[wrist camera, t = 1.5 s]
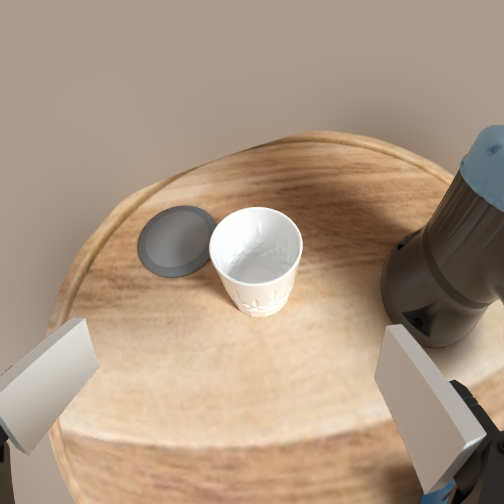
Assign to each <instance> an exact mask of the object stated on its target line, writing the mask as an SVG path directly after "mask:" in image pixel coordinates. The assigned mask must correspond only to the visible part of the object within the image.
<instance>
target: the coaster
mask: <svg viewBox="0 0 504 504" xmlns="http://www.w3.org/2000/svg"><path fill="white" fill-rule="evenodd" d="M215 228H216V224H215V222H214V220H213V218H212V217H211V216H210V215H209V214H208V213H207V212H206V211H204V210H202V209H200V208H198V207H194V206H177V207H172V208H169V209H167V210H165V211H163V212H161V213H159V214H158V215H156V216H155V217H154V218H153V219H151V220H150V221H149V222H148V224H147V225H146V226H145V228H144V229H143V231H142V233H141V236H140V239H139V243H138V251H139V256H140V258H141V261H142V262H143V264H144V265H145V266H146V267H147V269H148V270H150V271H151V272H152V273H154V274H156V275H158V276H161V277H166V278H177V277H182V276H186V275H188V274H191V273H193V272H195V271H196V270H198V269H199V268H201V267H202V266H203V265H204V264H205V263H207V261H208V260H209V259H210V258H211V257H210V252H209V244H210V239H211V236H212V233H213V231H214V230H215Z"/></svg>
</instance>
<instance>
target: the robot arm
mask: <svg viewBox="0 0 504 504" xmlns="http://www.w3.org/2000/svg"><path fill="white" fill-rule="evenodd" d="M381 292H382V298H383V302H384V305H385V308H386V310H387V312H388V314H389V316H390V318H391V320H392V321H393V323H394V324H395V325H387V326H386V328H385V333H384V338H383V343H382V347H381V352H380V356H379V360H378V364H377V368H376V372H375V376H374V379H375V381H376V383H377V385H378V387H379V389H380V392H381V394H382V396H383V398H384V400H385V402H386V404H387V406H388V409H389V411H390V413H391V415H392V417H393V420H394V422H395V424H396V426H397V428H398V431H399V433H400V435H401V438H402V440H403V442H404V444H405V447H406V449H407V452H408V454H409V456H410V459H411V461H412V464H413V466H414V468H415V471H416V473H417V476H418V478H419V481H420V483H421V486H422V489H423V491H424V494H425V495H426V494H429V493H431V492H434V491H437V490H439V489H441V488H444V487H445V486H446V485H447V484H448V483H449V482H450V481H451V479H452V478H454V480H455V483H456V484H455V485H454V486H453V487H452V488H451V489H450V491H449V492H448V493H447V494H446V495H445V496H444V497H443V499H442V500H441V501H445V500H446V499H447V498H448V497H449V499H448V501H447V504H504V431H501V432H500V431H499V430H498V428H497V427H496V426H495V424H494V423H493V422H492V420H491V419H490V417H489V416H488V415H487V413H486V412H485V411H484V409H483V408H482V407H481V406H480V405H478V402H477V400H476V399H475V398H473V395H472V394H471V393H470V391H469V390H468V389H467V388H466V387H465V386H464V385H462V384H461V383H459V382H458V381H456V380H453V381H448V380H447V379H446V377H445V376H444V375H443V373H442V372H441V371H440V370H439V368H438V367H437V366H436V365H435V363H434V362H433V361H432V360H431V358H430V357H429V356H428V355H427V353H426V352H425V351H424V350H423V349H422V347H421V346H420V345H422V346H425V347H429V348H442V347H446V346H449V345H451V344H453V343H455V342H457V341H459V340H461V339H462V338H464V337H465V336H466V335H468V334H469V333H470V332H471V331H472V329H473V328H474V327H475V325H476V324H477V322H478V321H479V320H480V318H481V317H482V315H483V314H484V312H485V311H486V309H487V308H488V306H489V305H490V304H492V303H493V302H494V301H496V300H498V299H500V300H501V301H502V303H503V304H504V125H492V126H489V127H487V128H485V129H483V130H482V131H481V132H480V134H479V135H478V137H477V139H476V140H475V142H474V144H473V145H472V147H471V149H470V150H469V152H468V154H467V155H466V156H464V157H463V159H462V160H461V163H460V169H459V171H458V173H457V174H456V176H455V178H454V180H453V182H452V183H451V185H450V187H449V189H448V190H447V192H446V194H445V196H444V197H443V199H442V201H441V202H440V204H439V206H438V207H437V209H436V210H435V212H434V214H433V215H432V217H431V218H430V220H429V222H428V223H427V224H426V225H424V226H423V227H421V228H419V229H418V230H416V231H414V232H413V233H411V234H409V235H408V236H406V237H405V238H403V239H402V240H401V241H400V242H399V243H398V244H397V245H396V246H395V247H394V249H393V250H392V252H391V253H390V255H389V256H388V258H387V260H386V262H385V264H384V267H383V270H382V275H381ZM98 368H99V364H98V361H97V358H96V355H95V352H94V348H93V345H92V342H91V338H90V335H89V331H88V327H87V323H86V319H85V318H80V317H72V318H71V319H70V320H68V321H67V322H66V323H64V324H63V325H62V326H61V327H59V328H58V329H57V330H56V331H54V332H53V333H52V334H51V335H49V336H48V337H47V338H46V339H44V340H43V341H42V342H41V343H39V344H38V345H37V346H36V347H35V348H33V349H32V350H31V351H30V352H28V353H27V354H26V355H25V356H24V357H22V358H21V359H20V360H19V361H18V362H16V363H15V364H14V365H12V366H11V367H10V368H9V369H8V370H7V371H5V373H3V374H2V375H1V376H0V504H15V501H14V494H13V486H12V477H11V466H10V448H9V445H8V443H7V442H6V440H8V438H10V440H11V441H12V443H13V444H14V445H15V447H16V448H17V449H19V450H20V451H22V452H23V453H25V454H27V455H28V456H29V455H30V453H31V452H32V451H33V449H34V448H35V447H36V445H37V444H38V443H39V441H40V440H41V439H42V437H43V436H44V435H45V433H46V432H47V431H48V430H49V428H50V427H51V426H52V425H53V423H54V422H55V421H56V419H57V418H58V417H59V416H60V414H61V413H62V412H63V411H64V409H65V408H66V407H67V406H68V404H69V403H70V402H71V401H72V399H73V398H74V397H75V396H76V394H77V393H78V392H79V391H80V390H81V388H82V387H83V386H84V385H85V383H86V382H87V381H88V380H89V379H90V377H91V376H92V375H93V374H94V373H95V371H96V370H97V369H98Z"/></svg>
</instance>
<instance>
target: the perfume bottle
mask: <svg viewBox="0 0 504 504" xmlns="http://www.w3.org/2000/svg"><path fill="white" fill-rule="evenodd" d="M455 484H456V483H455V480H454V478H452V479H451V481H450V482H449V483H448V484H447V485H446V486H445V487H444V488H441V489H439V490H437V491H434V492H431V493H429V494H426V495H425V494H424V491H423V495H422V498H421V502H420V504H447V501H448V499H449V497H448V498H447V499H446V500H445V501H441V500H442V499H443V497H444V496H445V495H446V494H447V493H448V492H449V491H450V489H451V488H452V487H453V486H454V485H455Z"/></svg>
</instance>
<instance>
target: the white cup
mask: <svg viewBox="0 0 504 504" xmlns="http://www.w3.org/2000/svg"><path fill="white" fill-rule="evenodd" d="M302 247H303V244H302V237H301V234H300V231H299V229H298V228H297V226H296V225H295V223H294V222H293V221H292V220H291V219H290V218H289V217H287V216H286V215H284V214H283V213H281V212H279V211H276V210H274V209H270V208H265V207H250V208H245V209H241V210H238V211H236V212H234V213H232V214H230V215H228V216H227V217H225V218H224V219H223V220H222V221H221V222H220V223H219V224H218V225H217V227H216V228H215V230H214V231H213V233H212V236H211V239H210V244H209V252H210V257H211V260H212V263H213V265H214V267H215V269H216V271H217V273H218V275H219V277H220V279H221V281H222V283H223V285H224V287H225V289H226V291H227V292H228V294H229V296H230V297H231V299H232V300H233V302H234V303H235V305H236V306H237V307H238V309H239V310H240V311H242V312H244V313H245V314H247V315H249V316H251V317H267V316H270V315H272V314H274V313H277V312H279V310H280V309H281V308H282V307H283V306H284V305H285V304H286V303H287V300H288V296H289V293H290V292H291V290H292V287H293V284H294V280H295V277H296V273H297V269H298V265H299V262H300V258H301V254H302Z"/></svg>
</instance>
